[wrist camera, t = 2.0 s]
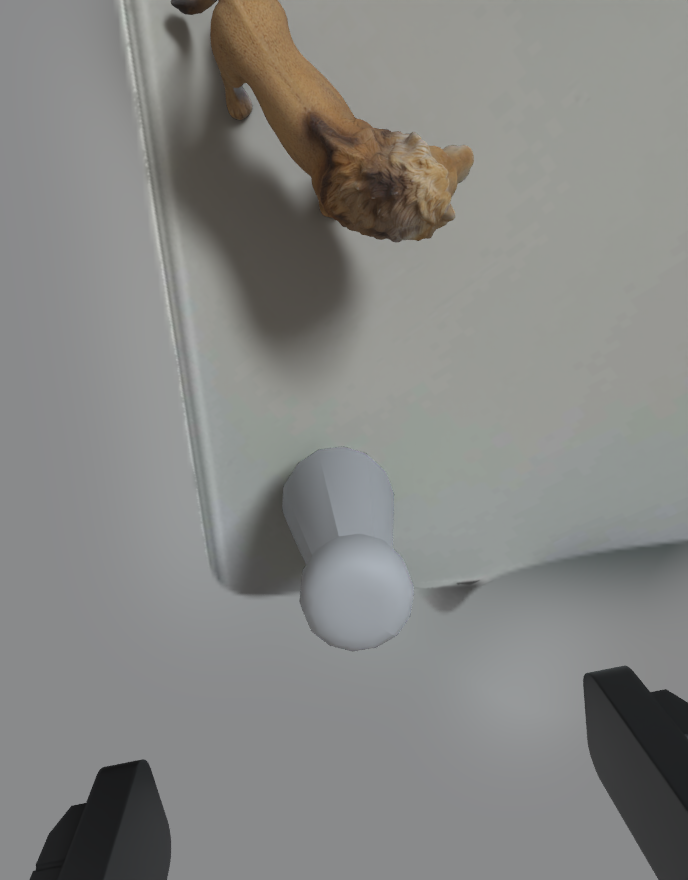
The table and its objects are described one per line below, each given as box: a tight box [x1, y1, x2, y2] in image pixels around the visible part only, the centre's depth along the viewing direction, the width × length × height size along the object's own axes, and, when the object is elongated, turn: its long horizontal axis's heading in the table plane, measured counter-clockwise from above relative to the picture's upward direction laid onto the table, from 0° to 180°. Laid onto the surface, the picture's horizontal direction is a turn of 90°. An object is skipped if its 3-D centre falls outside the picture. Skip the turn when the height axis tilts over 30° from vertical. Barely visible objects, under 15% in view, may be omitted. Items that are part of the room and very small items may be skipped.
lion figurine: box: [171, 0, 474, 242], centre depth 26 cm, size 15×5×9 cm, turn 50°
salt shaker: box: [282, 446, 414, 651], centre depth 29 cm, size 6×6×13 cm
